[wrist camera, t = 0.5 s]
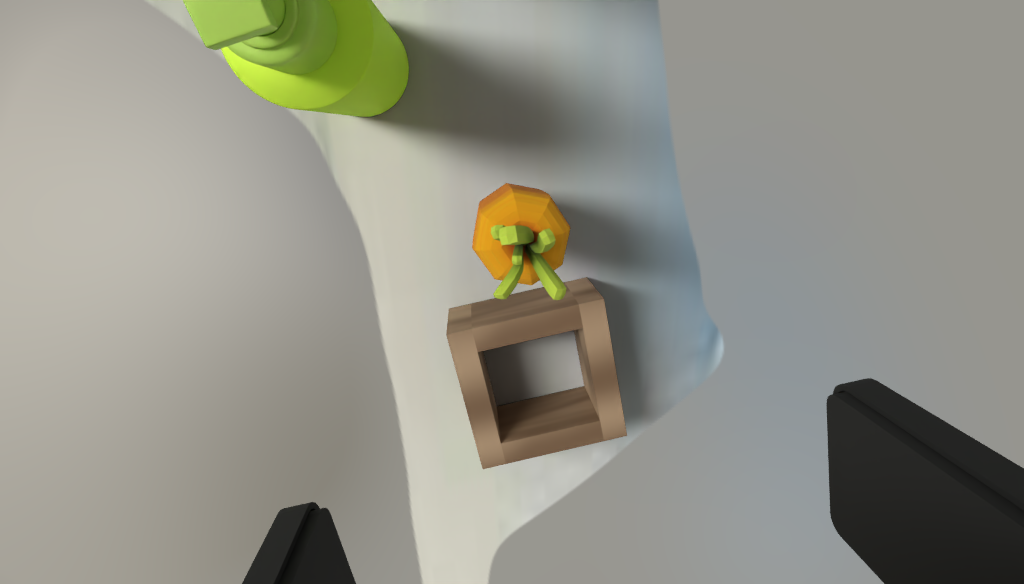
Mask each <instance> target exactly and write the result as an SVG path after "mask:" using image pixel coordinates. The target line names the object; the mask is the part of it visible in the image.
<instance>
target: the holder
mask: <svg viewBox="0 0 1024 584" xmlns="http://www.w3.org/2000/svg"><path fill="white" fill-rule="evenodd" d="M564 285H565V287H566V293H565V296H564V297H563V299H561V300H553V298H552V297H551V296H550V295H549V294H548V292H547V291H546V289H545V288H544V287H542V288H538V289H533V290H529V291H525V292H520V293H516V294H511V295H509V296H508V297H507V299H502V300H501V299H497V298H494V299H490V300H485V301H481V302H476V303H472V304H468V305H463V306H459V307H454V308H450V309H449V314H448V324H447V334H446V335H447V339H448V343H449V346H450V350H451V354H452V357H453V361H454V365H455V368H456V372H457V376H458V379H459V383H460V387H461V391H462V394H463V398H464V402H465V405H466V409H467V413H468V416H469V420H470V424H471V428H472V431H473V435H474V439H475V442H476V446H477V450H478V453H479V457H480V461H481V465H482V468H483V469H486V468H490V467H494V466H499V465H503V464H507V463H512V462H516V461H520V460H525V459H529V458H533V457H537V456H542V455H546V454H550V453H555V452H559V451H563V450H567V449H572V448H576V447H580V446H585V445H589V444H593V443H598V442H602V441H606V440H610V439H615V438H619V437H623V436H627V433H626V427H625V421H624V415H623V409H622V403H621V397H620V391H619V385H618V379H617V373H616V368H615V362H614V356H613V350H612V344H611V338H610V332H609V326H608V320H607V314H606V308H605V302H604V298H603V297H602V296H601V294H600V293H599V292H598V291H597V290H596V288H595V287H594V286H593V285H592V283H591V282H590V281H589V280H588V278H587V277H586V278H582V279H577V280H573V281H568V282H564ZM572 330H574V334H575V339H576V344H577V349H578V355H579V360H580V365H581V370H582V376H583V381H584V386H583V387H579V388H575V389H570V390H566V391H562V392H557V393H553V394H549V395H544V396H540V397H536V398H531V399H527V400H523V401H519V402H514V403H510V404H506V405H501V406H497V405H496V401H495V397H494V393H493V389H492V385H491V381H490V377H489V373H488V369H487V365H486V361H485V357H484V353H483V351H485V350H489V349H494V348H498V347H502V346H507V345H511V344H515V343H520V342H524V341H529V340H533V339H537V338H542V337H546V336H550V335H555V334H559V333H563V332H568V331H572Z"/></svg>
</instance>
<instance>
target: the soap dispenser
mask: <svg viewBox="0 0 1024 584" xmlns="http://www.w3.org/2000/svg"><path fill="white" fill-rule="evenodd" d="M183 2H184V4H185V6H186V8H187V10H188V12H189V14H190V16H191V18H192V20H193V22H194V24H195V26H196V28H197V30H198V32H199V34H200V36H201V38H202V40H203V42H204V44H205V46H206V47H207V48H210V49H213V50H218V49H221V50H222V52H223V55H224V57H225V59H226V60H227V62H228V64H229V66H230V67H231V69H232V70H233V71H234V73H235V74H236V75H237V76H238V78H239V79H240V80H241V81H242V82H243V83H244V84H245V85H246V86H247V87H248V88H249V89H251V90H252V91H253V92H255V93H256V94H257V95H259V96H260V97H262V98H264V99H266V100H268V101H270V102H272V103H274V104H277V105H279V106H283V107H286V108H291V109H298V110H307V111H316V112H324V113H333V114H342V115H350V116H359V117H369V116H375V115H378V114H381V113H383V112H385V111H387V110H389V109H390V108H391V107H393V106H394V105H395V104H396V103H397V102H398V100H399V99H400V98H401V96H402V94H403V93H404V90H405V88H406V85H407V81H408V76H409V63H408V58H407V54H406V51H405V48H404V46H403V44H402V42H401V40H400V38H399V37H398V35H397V34H396V33H395V31H394V30H393V29H392V27H391V26H390V25H389V23H388V22H387V21H386V19H385V18H384V17H383V15H382V14H381V13H380V11H379V10H378V9H377V7H376V6H375V5H374V3H373V2H372V1H371V0H183Z"/></svg>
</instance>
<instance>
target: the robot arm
mask: <svg viewBox="0 0 1024 584" xmlns="http://www.w3.org/2000/svg"><path fill="white" fill-rule="evenodd" d="M827 428H828V458H829V487H830V513H831V519H832V522H833V524H834V527H835V529H836V530H837V532H838V534H839V535H840V536H841V537H842V538H843V539H844V541H845V542H846V543H847V544H848V545H849V546H850V547H851V548H852V549H853V550H854V551H855V552H856V553H857V555H858V556H860V558H861V559H862V560H863V561H864V562H865V563H866V564H867V565H868V566H869V567H870V568H871V570H872V571H873V572H874V573H875V574H876V575H877V576H878V577H879V578H880V579H881V580H882V581H883V582H884V584H1024V468H1022V467H1020V466H1018V465H1017V464H1015V463H1013V462H1012V461H1010V460H1008V459H1007V458H1005V457H1003V456H1002V455H1000V454H998V453H997V452H995V451H993V450H992V449H990V448H988V447H987V446H985V445H983V444H982V443H980V442H978V441H977V440H975V439H973V438H972V437H970V436H968V435H966V434H965V433H963V432H962V431H960V430H958V429H956V428H955V427H953V426H951V425H950V424H948V423H946V422H945V421H943V420H941V419H940V418H938V417H936V416H935V415H933V414H931V413H930V412H928V411H926V410H925V409H923V408H921V407H920V406H918V405H916V404H915V403H913V402H911V401H910V400H908V399H906V398H904V397H903V396H901V395H899V394H898V393H896V392H894V391H893V390H891V389H890V388H888V387H886V386H884V385H883V384H881V383H879V382H878V381H876V380H873V379H863V380H858V381H854V382H849V383H845V384H840V385H838V386H836V387H835V389H834V392H833V395H830V396H829V397H828V399H827ZM242 584H356V583H355V580H354V577H353V574H352V572H351V569H350V566H349V564H348V561H347V558H346V555H345V552H344V550H343V547H342V544H341V542H340V539H339V536H338V533H337V530H336V528H335V525H334V522H333V519H332V517H331V514H330V512H329V510H328V509H327V508H322V509H320V508H319V506H318V505H317V504H316V503H314V502H311V503H307V504H302V505H298V506H293V507H288V508H284V509H282V510H280V511H279V513H278V515H277V517H276V518H275V520H274V522H273V524H272V526H271V528H270V530H269V532H268V534H267V536H266V538H265V540H264V542H263V544H262V546H261V548H260V550H259V552H258V553H257V555H256V557H255V559H254V561H253V563H252V566H251V567H250V569H249V571H248V573H247V575H246V577H245V579H244V581H243V583H242Z"/></svg>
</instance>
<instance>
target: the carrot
mask: <svg viewBox="0 0 1024 584" xmlns="http://www.w3.org/2000/svg"><path fill="white" fill-rule="evenodd" d="M569 232H570V226H569V224H568V223H567V221H566V220H565V218H564V217H563V215H562V214H561V212H560V210H559V209H558V207H557V206H556V204H555V203H554V201H553V200H552V198H551V197H550V195H549V194H547V193H546V192H544V191H542V190H539V189H535V188H529V187H524V186H519V185H513V184H508V183H506V184H504V185H503V186H502V187H500V188H499V189H497V190H496V191H494V192H493V193H492V194H490V195H489V196H487V197H486V198H484V199H483V200H482V201H480V203H479V208H478V213H477V219H476V225H475V231H474V237H473V246H472V248H473V250H474V251H475V252H476V254H477V255H478V257H479V258H480V259H481V261H482V262H483V263H484V265H485V266H486V268H487V269H488V270H489V272H490V273H491V275H492V276H493V277H494V279H496V280H503V281H502V282H501V284H500V285H499V287H498V288H497V289H496V291H495V293H494V294H493V295H494V297H495V298H497V299H501V300H502V299H507V297H508V296H509V295H510V294H511V293H512V291H513V290H514V288H515V287H516V285H517V283H521V284H527V285H533V284H534V283H536V282H537V281H539V280H540V281H541V282H542V284H543V286H544V288H545V289H546V291H547V292H548V294H549V295H550V296H551V297H552V298H553V300H561V299H563V297H564V296H565V293H566V287H565V285H564V283H563V282H562V281H561V279H560V278H559V277H558V275H557V274H556V273H555V272H554V270H555V269H557V268H558V267H560V266H561V265H562V264H563V259H564V255H565V250H566V246H567V241H568V237H569Z"/></svg>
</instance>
